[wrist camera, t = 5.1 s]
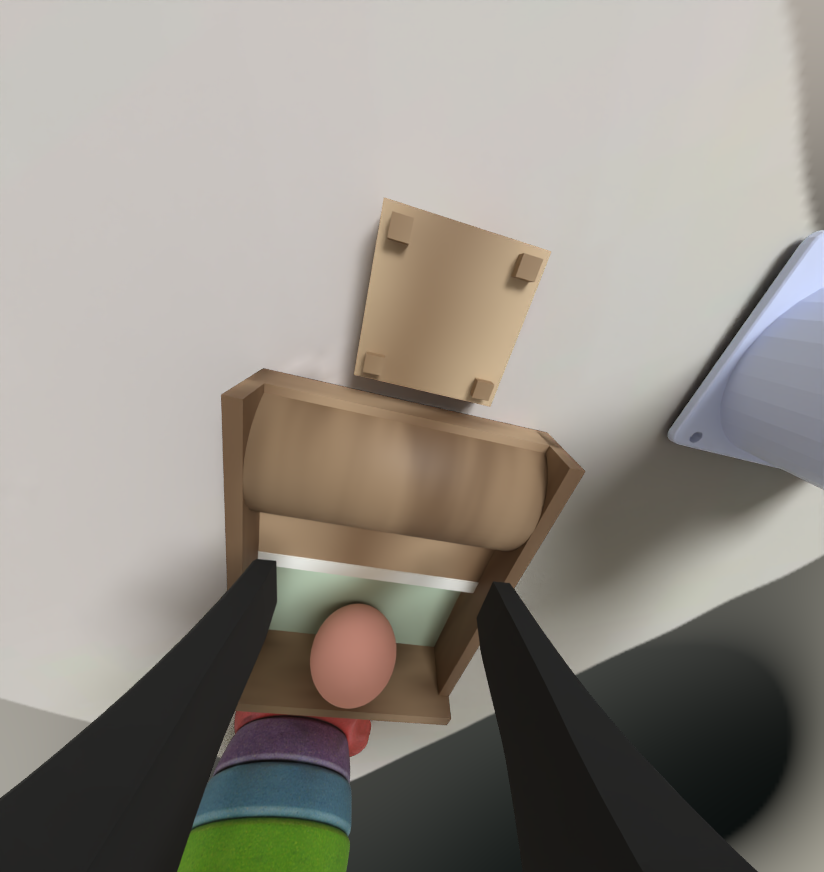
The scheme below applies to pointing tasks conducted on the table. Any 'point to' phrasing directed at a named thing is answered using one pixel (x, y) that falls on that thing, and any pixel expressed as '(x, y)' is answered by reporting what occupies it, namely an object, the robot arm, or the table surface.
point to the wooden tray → (379, 529)
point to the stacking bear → (278, 797)
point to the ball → (353, 656)
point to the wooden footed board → (444, 304)
